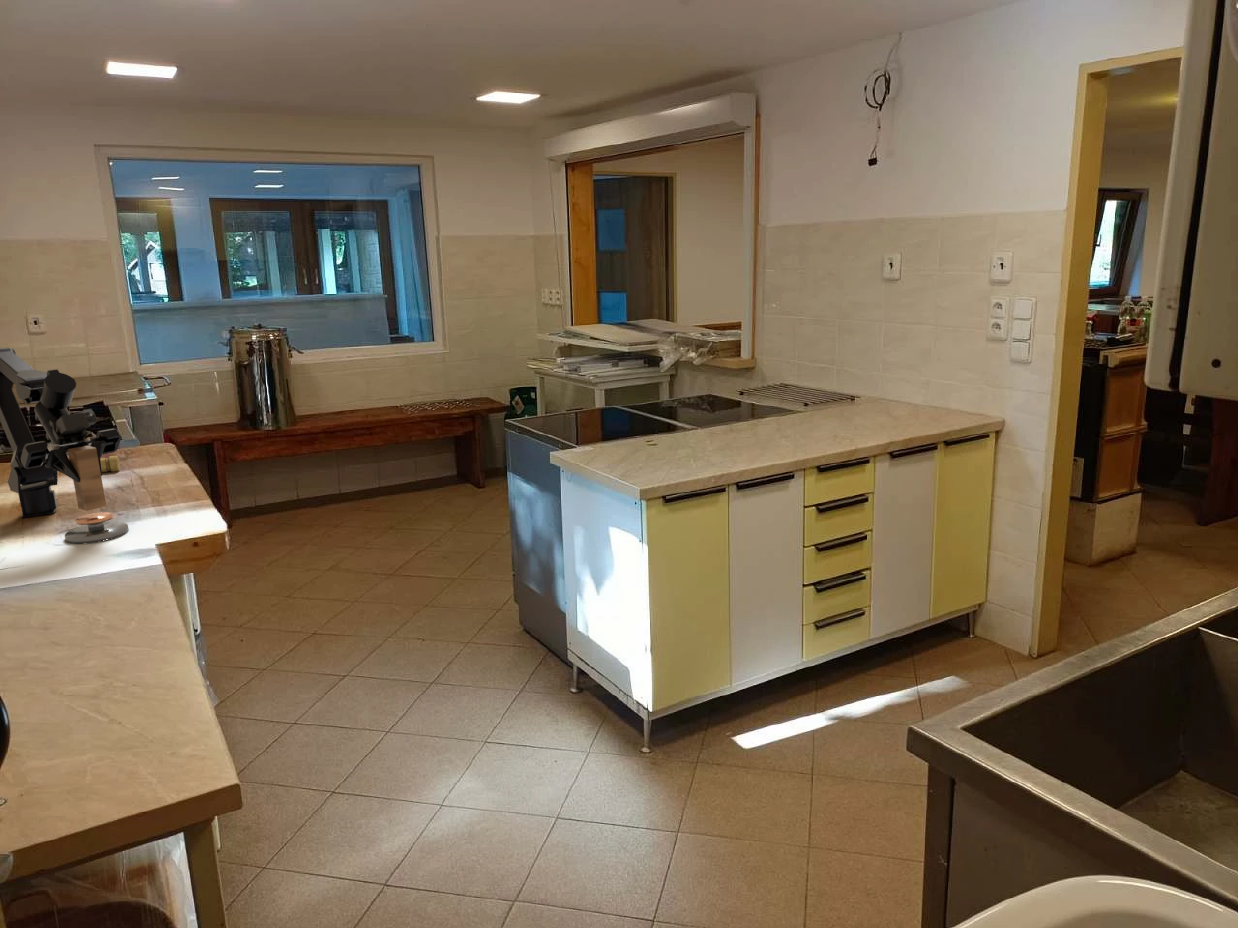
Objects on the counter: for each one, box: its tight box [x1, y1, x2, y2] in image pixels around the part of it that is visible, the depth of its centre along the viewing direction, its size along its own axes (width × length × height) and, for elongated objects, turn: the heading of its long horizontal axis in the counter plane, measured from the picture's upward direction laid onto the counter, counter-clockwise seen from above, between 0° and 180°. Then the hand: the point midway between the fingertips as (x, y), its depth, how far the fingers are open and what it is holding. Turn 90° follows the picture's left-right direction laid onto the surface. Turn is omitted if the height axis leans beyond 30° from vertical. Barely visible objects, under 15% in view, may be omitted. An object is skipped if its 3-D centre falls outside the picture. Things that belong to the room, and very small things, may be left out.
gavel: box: [100, 453, 121, 473], centre depth 255 cm, size 21×5×10 cm
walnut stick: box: [67, 446, 107, 512], centre depth 190 cm, size 4×4×13 cm
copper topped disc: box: [64, 511, 129, 545], centre depth 192 cm, size 12×12×4 cm
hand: (90, 478), depth 189 cm, fingers closed on walnut stick, 4 cm apart
